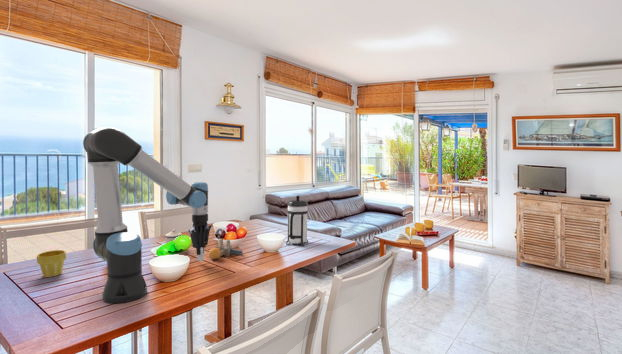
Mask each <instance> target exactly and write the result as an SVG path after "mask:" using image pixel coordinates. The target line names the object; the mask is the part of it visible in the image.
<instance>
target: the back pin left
mask: <svg viewBox="0 0 622 354" xmlns="http://www.w3.org/2000/svg"><path fill="white" fill-rule="evenodd" d="M217 241H218V242H217V244H218V245H217V248H218V249H219V250H220V251H221V250H222V249H223V247H224V239H223V238H218V240H217Z"/></svg>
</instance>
